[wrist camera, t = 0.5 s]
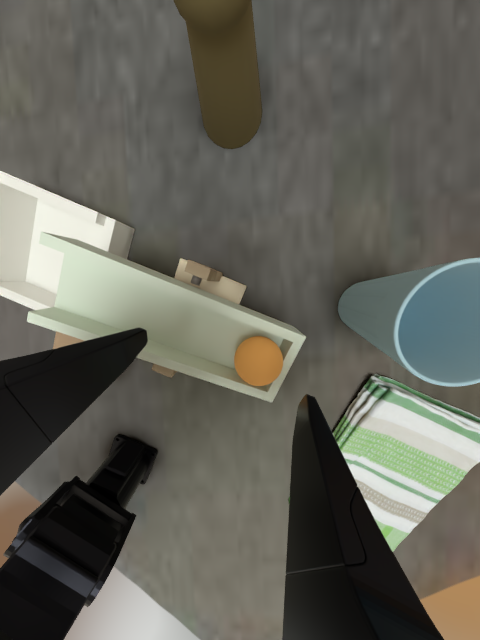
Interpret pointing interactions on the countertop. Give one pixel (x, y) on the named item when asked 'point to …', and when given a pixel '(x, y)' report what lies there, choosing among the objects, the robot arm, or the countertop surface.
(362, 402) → the dish towel
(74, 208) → the bin
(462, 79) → the countertop surface
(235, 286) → the lever stand
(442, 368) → the cup
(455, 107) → the countertop surface
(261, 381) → the ball
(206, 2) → the olive knobbed post
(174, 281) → the lever
